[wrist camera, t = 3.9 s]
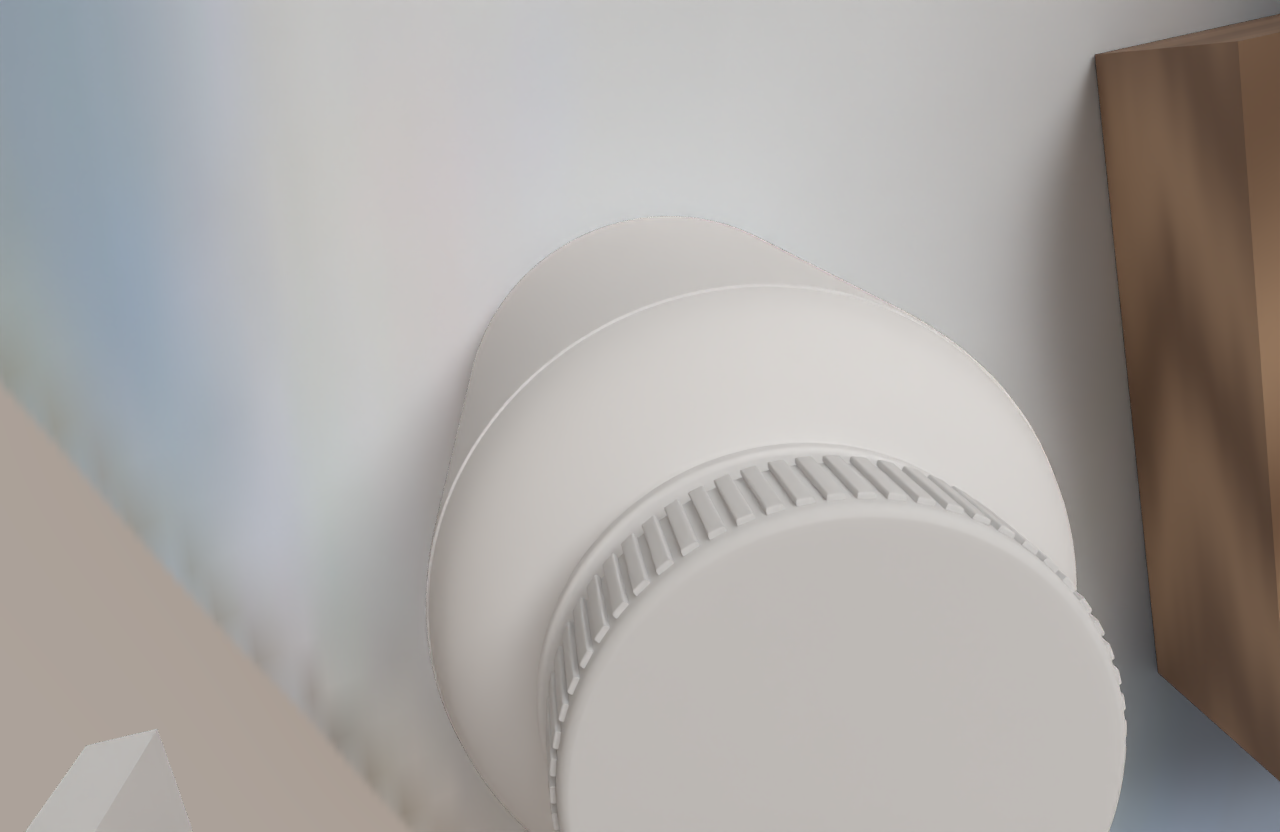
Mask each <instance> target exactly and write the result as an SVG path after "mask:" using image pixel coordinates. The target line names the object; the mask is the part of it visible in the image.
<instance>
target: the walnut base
mask: <svg viewBox="0 0 1280 832" xmlns="http://www.w3.org/2000/svg"><path fill="white" fill-rule="evenodd" d="M1095 62H1096V71H1097V81H1098V91H1099V101H1100V110H1101V120H1102V130H1103V140H1104V150H1105V159H1106V169H1107V179H1108V189H1109V198H1110V208H1111V218H1112V228H1113V237H1114V247H1115V257H1116V267H1117V276H1118V286H1119V296H1120V306H1121V316H1122V325H1123V335H1124V345H1125V355H1126V364H1127V374H1128V384H1129V394H1130V403H1131V413H1132V423H1133V433H1134V443H1135V452H1136V462H1137V472H1138V482H1139V491H1140V501H1141V511H1142V521H1143V530H1144V540H1145V550H1146V560H1147V569H1148V579H1149V589H1150V599H1151V609H1152V618H1153V628H1154V638H1155V648H1156V657H1157V667H1158V673H1159V674H1160V675H1161V676H1162V677H1163V678H1165V679H1166V680H1167V681H1168V682H1169V683H1170V684H1171V685H1172V686H1174V687H1175V688H1176V689H1177V690H1178V691H1179V692H1180V693H1181V694H1182V695H1184V696H1185V697H1186V698H1187V699H1188V700H1189V701H1190V702H1191V703H1193V704H1194V705H1195V706H1196V707H1197V708H1198V709H1199V710H1200V711H1202V712H1203V713H1204V714H1205V715H1206V716H1207V717H1208V718H1209V719H1210V720H1212V721H1213V722H1214V723H1215V724H1216V725H1217V726H1218V727H1219V728H1221V729H1222V730H1223V731H1224V732H1225V733H1226V734H1227V735H1228V736H1230V737H1231V738H1232V739H1233V740H1234V741H1235V742H1236V743H1237V744H1239V745H1240V746H1241V747H1242V748H1243V749H1244V750H1245V751H1246V752H1247V753H1249V754H1250V755H1251V756H1252V757H1253V758H1254V759H1255V760H1256V761H1258V762H1259V763H1260V764H1261V765H1262V766H1263V767H1264V768H1265V769H1267V770H1268V771H1269V772H1270V773H1271V774H1272V775H1273V776H1274V777H1275V778H1277V779H1278V780H1279V781H1280V14H1278V15H1273V16H1269V17H1264V18H1260V19H1255V20H1250V21H1246V22H1241V23H1237V24H1232V25H1228V26H1223V27H1218V28H1214V29H1209V30H1205V31H1200V32H1196V33H1191V34H1187V35H1182V36H1177V37H1173V38H1168V39H1164V40H1159V41H1155V42H1150V43H1146V44H1141V45H1136V46H1132V47H1127V48H1123V49H1118V50H1114V51H1109V52H1104V53H1100V54H1095Z"/></svg>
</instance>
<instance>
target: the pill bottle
mask: <svg viewBox="0 0 1280 832" xmlns="http://www.w3.org/2000/svg"><path fill="white" fill-rule="evenodd" d="M1091 612H1092V609H1091V607H1090V605H1089V604H1088V602H1087V601H1086V599H1085V598H1084V597H1083V596H1082V595H1081V594H1079V593H1078V592H1077V576H1076V561H1075V552H1074V545H1073V539H1072V533H1071V528H1070V523H1069V519H1068V515H1067V511H1066V507H1065V504H1064V501H1063V497H1062V494H1061V491H1060V489H1059V486H1058V483H1057V480H1056V478H1055V475H1054V472H1053V470H1052V467H1051V465H1050V462H1049V460H1048V458H1047V455H1046V453H1045V451H1044V449H1043V447H1042V445H1041V443H1040V441H1039V439H1038V437H1037V435H1036V434H1035V432H1034V430H1033V428H1032V427H1031V425H1030V424H1029V422H1028V420H1027V419H1026V417H1025V416H1024V414H1023V413H1022V411H1021V410H1020V408H1019V407H1018V406H1017V404H1016V403H1015V402H1014V400H1013V399H1012V398H1011V396H1010V395H1009V394H1008V393H1007V392H1006V390H1005V389H1004V388H1003V387H1002V386H1001V385H1000V383H999V382H998V381H997V380H996V379H995V378H994V377H993V376H992V375H991V374H990V373H989V372H988V371H987V370H986V369H985V368H984V367H983V366H982V365H981V364H980V363H979V362H978V361H976V360H975V359H974V358H973V357H972V356H971V355H969V354H968V353H967V352H966V351H965V350H963V349H962V348H961V347H960V346H958V345H957V344H956V343H954V342H953V341H952V340H950V339H949V338H948V337H946V336H945V335H943V334H942V333H941V332H939V331H937V330H936V329H934V328H933V327H931V326H930V325H928V324H927V323H925V322H923V321H922V320H920V319H918V318H916V317H915V316H913V315H911V314H909V313H907V312H906V311H904V310H902V309H900V308H898V307H896V306H894V305H892V304H890V303H888V302H886V301H884V300H882V299H880V298H878V297H876V296H874V295H872V294H870V293H868V292H866V291H864V290H862V289H860V288H858V287H856V286H854V285H852V284H850V283H848V282H846V281H844V280H842V279H840V278H838V277H836V276H834V275H832V274H830V273H828V272H826V271H824V270H822V269H820V268H818V267H816V266H814V265H812V264H810V263H808V262H806V261H804V260H802V259H800V258H798V257H796V256H795V255H793V254H791V253H789V252H787V251H785V250H783V249H781V248H779V247H777V246H775V245H773V244H771V243H769V242H767V241H765V240H763V239H761V238H759V237H757V236H755V235H753V234H750V233H748V232H746V231H743V230H741V229H738V228H736V227H733V226H730V225H726V224H723V223H719V222H715V221H711V220H706V219H700V218H693V217H683V216H655V217H645V218H637V219H632V220H627V221H622V222H618V223H614V224H611V225H608V226H605V227H602V228H599V229H596V230H594V231H591V232H589V233H587V234H584V235H582V236H580V237H578V238H576V239H574V240H572V241H570V242H569V243H567V244H565V245H563V246H562V247H560V248H559V249H557V250H556V251H554V252H553V253H551V254H550V255H548V256H547V257H546V258H544V259H543V260H542V261H541V262H539V263H538V264H537V265H536V266H535V267H534V268H532V269H531V270H530V271H529V272H528V273H527V274H526V275H525V276H524V277H523V278H522V279H521V280H520V281H519V282H518V283H517V285H516V286H515V287H514V288H513V289H512V290H511V292H510V293H509V294H508V295H507V297H506V298H505V299H504V301H503V302H502V304H501V305H500V307H499V308H498V310H497V311H496V313H495V315H494V316H493V318H492V320H491V322H490V323H489V325H488V327H487V329H486V331H485V334H484V336H483V338H482V340H481V343H480V345H479V348H478V351H477V354H476V357H475V360H474V364H473V368H472V372H471V376H470V380H469V384H468V389H467V393H466V397H465V401H464V405H463V410H462V414H461V418H460V422H459V426H458V431H457V435H456V439H455V443H454V448H453V452H452V456H451V460H450V464H449V469H448V473H447V477H446V481H445V485H444V490H443V494H442V498H441V502H440V506H439V511H438V515H437V519H436V523H435V528H434V533H433V538H432V543H431V549H430V555H429V563H428V572H427V585H426V625H427V637H428V645H429V652H430V658H431V663H432V668H433V672H434V676H435V680H436V684H437V687H438V691H439V694H440V697H441V700H442V703H443V705H444V708H445V711H446V713H447V716H448V718H449V720H450V722H451V725H452V727H453V729H454V731H455V733H456V735H457V737H458V739H459V741H460V743H461V744H462V746H463V748H464V750H465V751H466V753H467V755H468V757H469V758H470V760H471V762H472V764H473V765H474V767H475V768H476V770H477V772H478V773H479V775H480V776H481V778H482V779H483V780H484V782H485V783H486V785H487V786H488V787H489V789H490V790H491V791H492V793H493V794H494V795H495V796H496V798H497V799H498V800H499V801H500V802H501V804H502V805H503V806H504V807H505V808H506V809H507V810H508V812H509V813H510V814H511V815H512V816H513V817H514V818H515V819H516V820H517V821H518V822H519V823H520V824H521V825H522V826H523V827H524V828H525V829H526V830H528V831H529V832H1109V830H1110V827H1111V824H1112V821H1113V818H1114V815H1115V812H1116V808H1117V805H1118V801H1119V796H1120V792H1121V787H1122V781H1123V774H1124V766H1125V759H1126V736H1127V721H1126V720H1125V716H1124V710H1125V709H1126V707H1125V699H1124V694H1123V693H1122V692H1121V691H1120V687H1119V685H1121V683H1122V682H1121V678H1120V674H1119V670H1118V668H1117V667H1116V666H1114V665H1113V663H1112V660H1113V659H1114V658H1115V657H1114V654H1113V651H1112V649H1111V646H1110V644H1109V643H1108V642H1107V641H1106V640H1105V639H1103V638H1102V636H1103V635H1104V634H1105V632H1104V630H1103V628H1102V626H1101V624H1100V622H1099V620H1098V619H1097V618H1095V617H1094V616H1093V615H1092V614H1091Z"/></svg>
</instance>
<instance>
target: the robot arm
mask: <svg viewBox="0 0 1280 832" xmlns="http://www.w3.org/2000/svg"><path fill="white" fill-rule="evenodd" d="M25 832H193V830H192V827H191V824H190V821H189V818H188V815H187V812H186V809H185V807H184V804H183V801H182V798H181V795H180V793H179V789H178V786H177V784H176V781H175V778H174V775H173V772H172V769H171V766H170V763H169V761H168V758H167V755H166V752H165V749H164V746H163V743H162V740H161V738H160V735H159V732H158V729H154V730H150V731H146V732H142V733H138V734H133V735H129V736H125V737H120V738H116V739H112V740H108V741H103V742H99V743H95V744H91V745H86V746H85V748H84V749H83V750H82V752H81V754H80V755H79V756H78V757H77V759H76V760H75V762H74V763H73V764H72V766H71V767H70V769H69V770H68V772H67V773H66V774H65V776H64V777H63V779H62V780H61V782H60V783H59V784H58V786H57V787H56V789H55V790H54V791H53V793H52V794H51V796H50V797H49V799H48V800H47V802H46V803H45V804H44V806H43V807H42V809H41V810H40V811H39V813H38V814H37V815H36V817H35V818H34V820H33V821H32V823H31V824H30V825H29V827H28V828H27V830H26V831H25Z"/></svg>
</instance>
